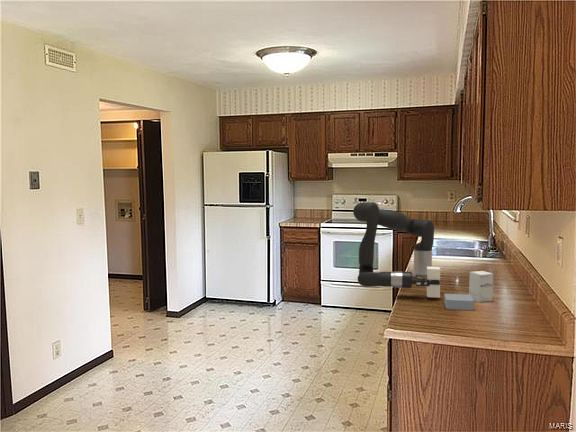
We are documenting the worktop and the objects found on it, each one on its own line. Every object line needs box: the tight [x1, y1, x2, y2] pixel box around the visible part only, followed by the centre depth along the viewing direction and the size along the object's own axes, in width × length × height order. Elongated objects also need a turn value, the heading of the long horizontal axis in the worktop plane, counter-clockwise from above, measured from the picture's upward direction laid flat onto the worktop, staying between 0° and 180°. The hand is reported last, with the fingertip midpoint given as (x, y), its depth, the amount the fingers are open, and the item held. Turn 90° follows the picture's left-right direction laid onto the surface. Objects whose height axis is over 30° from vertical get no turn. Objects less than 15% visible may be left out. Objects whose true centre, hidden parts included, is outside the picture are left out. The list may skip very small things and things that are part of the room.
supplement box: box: [468, 270, 494, 303], centre depth 219 cm, size 7×7×13 cm
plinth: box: [443, 293, 475, 311], centre depth 210 cm, size 11×11×4 cm
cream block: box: [426, 266, 441, 298], centre depth 222 cm, size 6×6×13 cm
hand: (438, 280), depth 222 cm, fingers closed on cream block, 5 cm apart
